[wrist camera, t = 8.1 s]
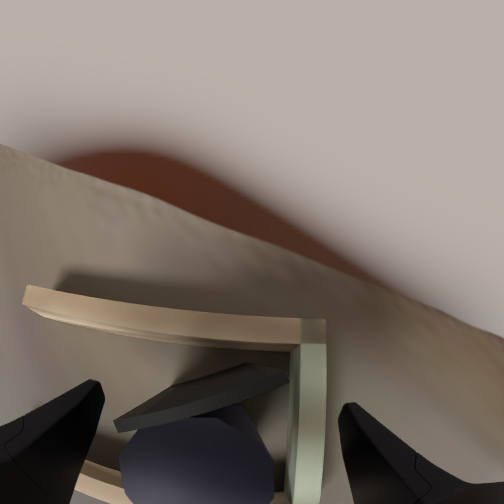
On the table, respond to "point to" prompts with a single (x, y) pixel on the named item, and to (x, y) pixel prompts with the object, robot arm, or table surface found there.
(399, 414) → the table surface
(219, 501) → the dark cylinder with backplate
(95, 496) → the channel
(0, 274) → the table surface
